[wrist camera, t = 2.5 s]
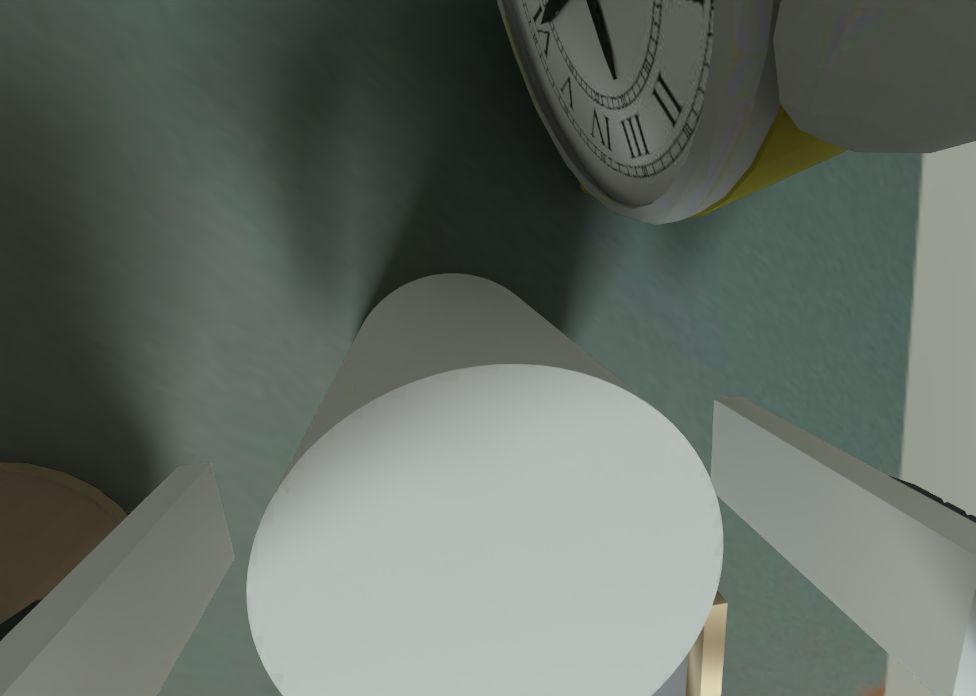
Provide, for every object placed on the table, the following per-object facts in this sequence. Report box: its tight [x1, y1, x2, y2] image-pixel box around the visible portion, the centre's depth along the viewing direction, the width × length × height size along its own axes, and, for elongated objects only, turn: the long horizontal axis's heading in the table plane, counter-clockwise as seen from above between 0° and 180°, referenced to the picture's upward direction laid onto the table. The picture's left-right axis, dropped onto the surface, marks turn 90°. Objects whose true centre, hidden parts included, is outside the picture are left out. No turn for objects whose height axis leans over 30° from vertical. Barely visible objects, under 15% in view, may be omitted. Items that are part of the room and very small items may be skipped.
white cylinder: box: [247, 273, 723, 696], centre depth 14 cm, size 8×8×12 cm
